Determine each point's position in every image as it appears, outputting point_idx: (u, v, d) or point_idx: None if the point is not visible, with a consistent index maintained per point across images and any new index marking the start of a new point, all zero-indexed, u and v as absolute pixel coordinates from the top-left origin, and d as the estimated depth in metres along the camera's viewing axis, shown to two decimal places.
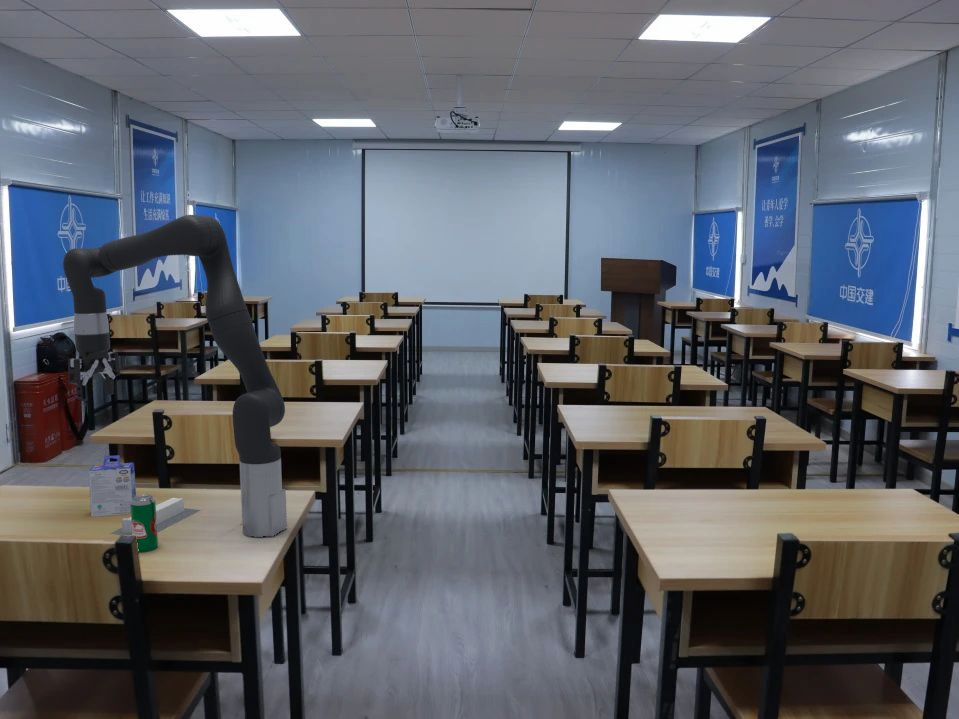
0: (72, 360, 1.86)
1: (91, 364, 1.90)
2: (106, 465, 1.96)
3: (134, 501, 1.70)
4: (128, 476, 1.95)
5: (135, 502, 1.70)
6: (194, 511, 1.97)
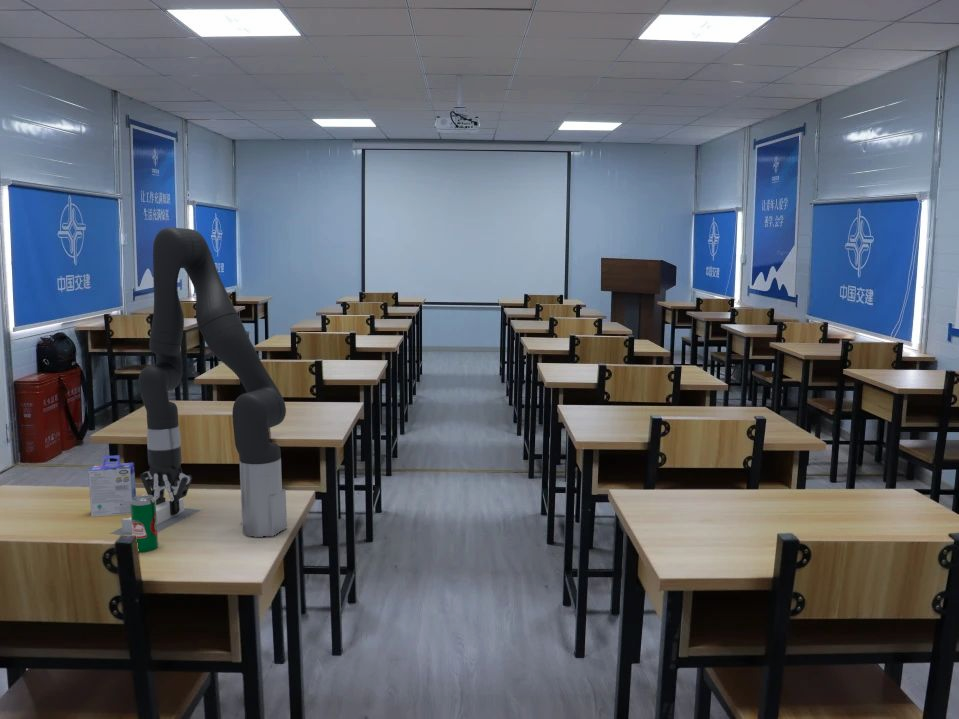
0: (189, 478, 1.91)
1: None
2: (106, 465, 1.96)
3: (134, 501, 1.70)
4: (128, 476, 1.95)
5: (135, 502, 1.70)
6: (194, 511, 1.97)
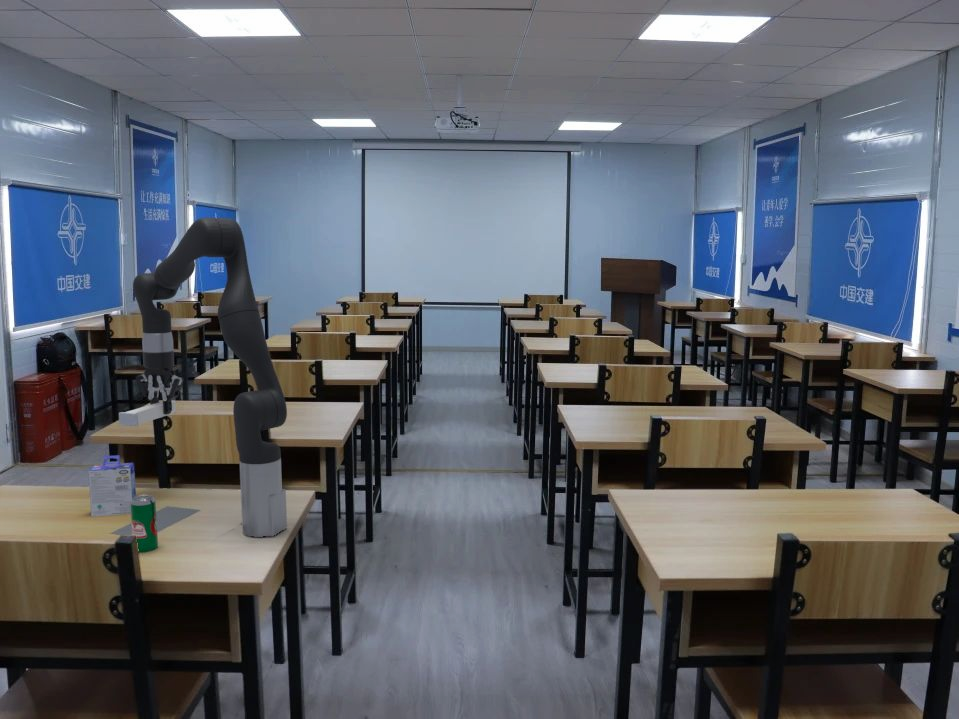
0: (181, 380, 2.08)
1: None
2: (106, 465, 1.96)
3: (134, 501, 1.70)
4: (128, 476, 1.95)
5: (135, 502, 1.70)
6: (194, 511, 1.97)
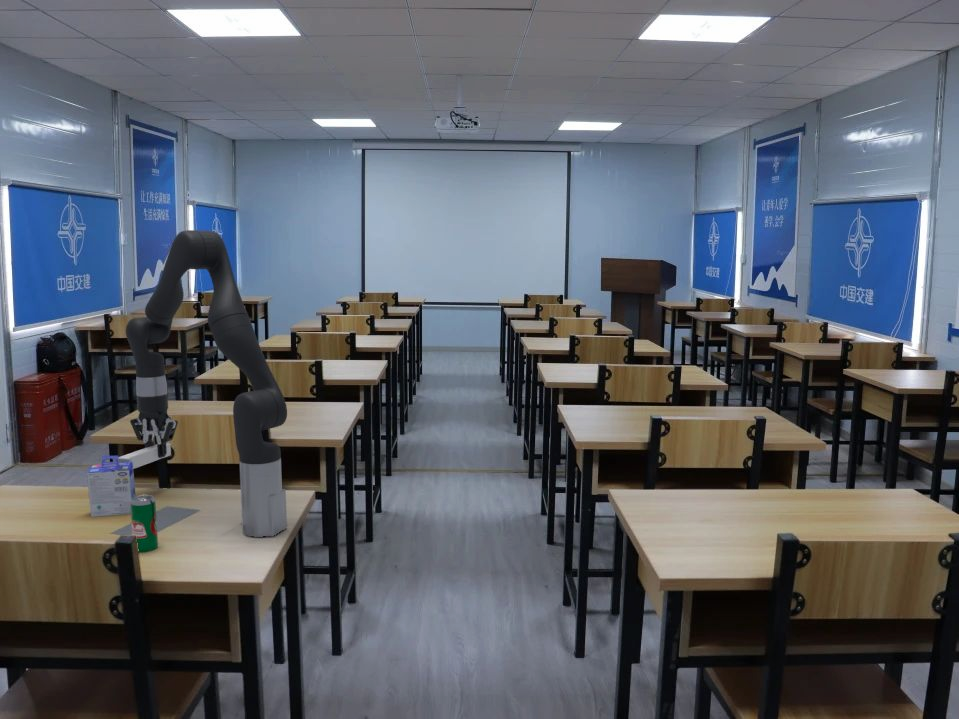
0: (175, 423, 2.08)
1: None
2: (104, 466, 1.94)
3: (134, 501, 1.70)
4: (127, 478, 1.94)
5: (135, 502, 1.70)
6: (194, 511, 1.97)
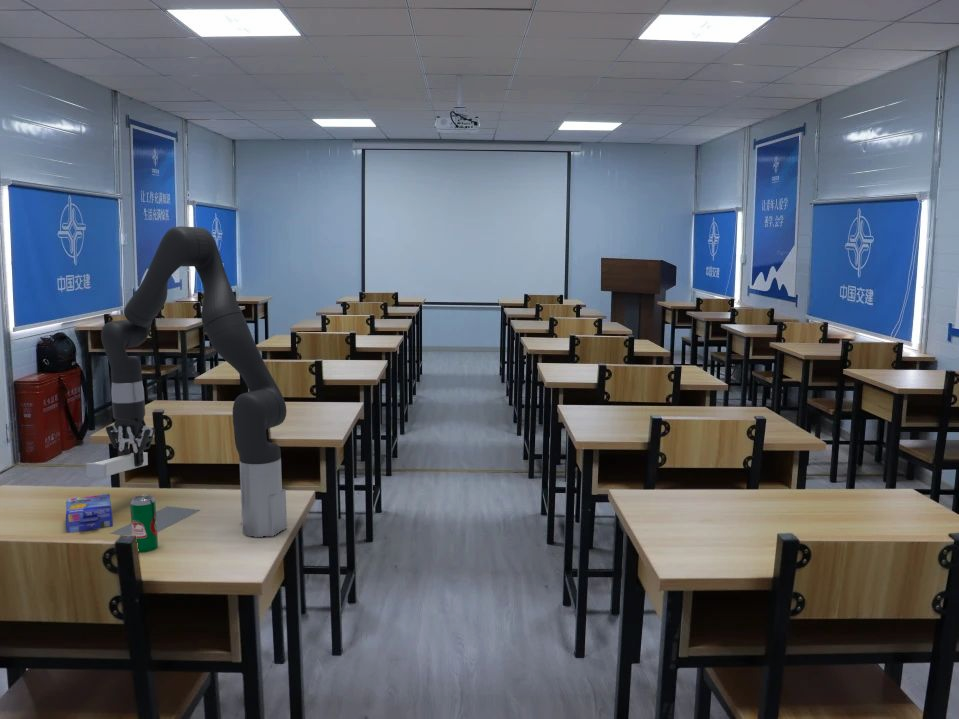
0: (151, 431, 2.00)
1: None
2: (83, 521, 1.84)
3: (134, 501, 1.70)
4: None
5: (135, 502, 1.70)
6: (194, 511, 1.97)
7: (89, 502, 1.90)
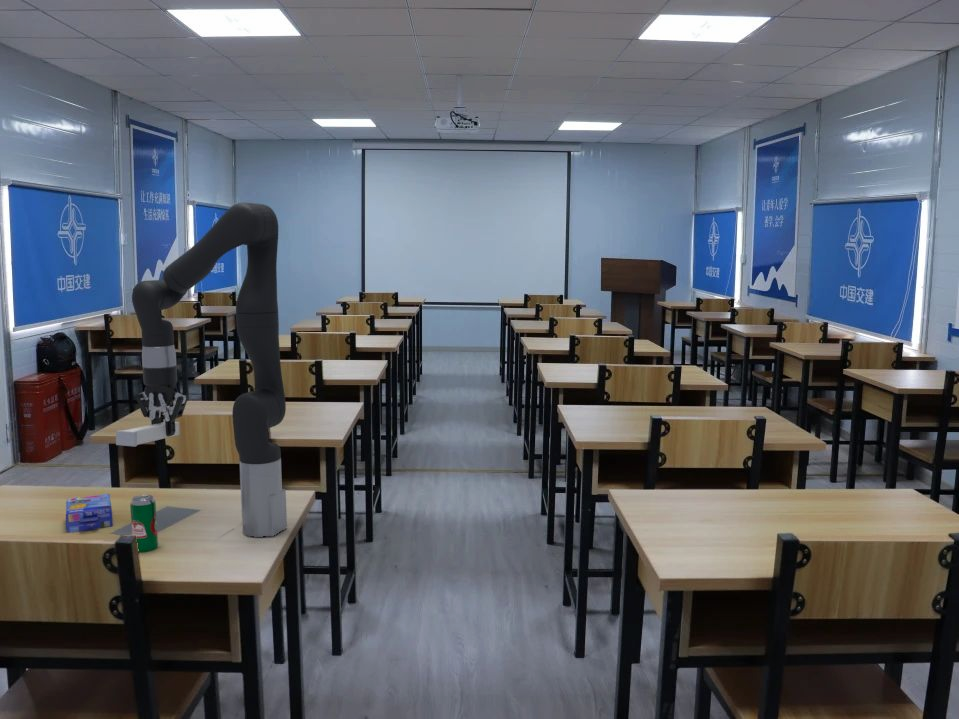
0: (184, 398, 1.88)
1: None
2: (83, 521, 1.84)
3: (134, 501, 1.70)
4: None
5: (136, 502, 1.70)
6: (194, 511, 1.97)
7: (89, 502, 1.90)
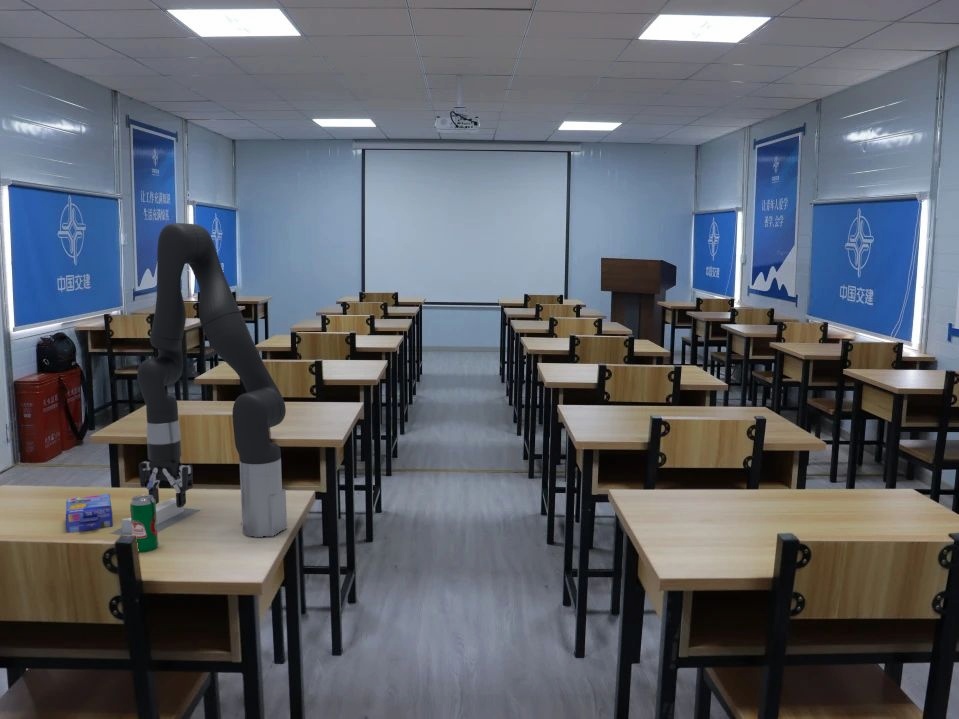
0: (189, 467, 1.91)
1: None
2: (83, 521, 1.84)
3: (134, 501, 1.70)
4: None
5: (135, 502, 1.70)
6: (194, 511, 1.97)
7: (89, 502, 1.90)
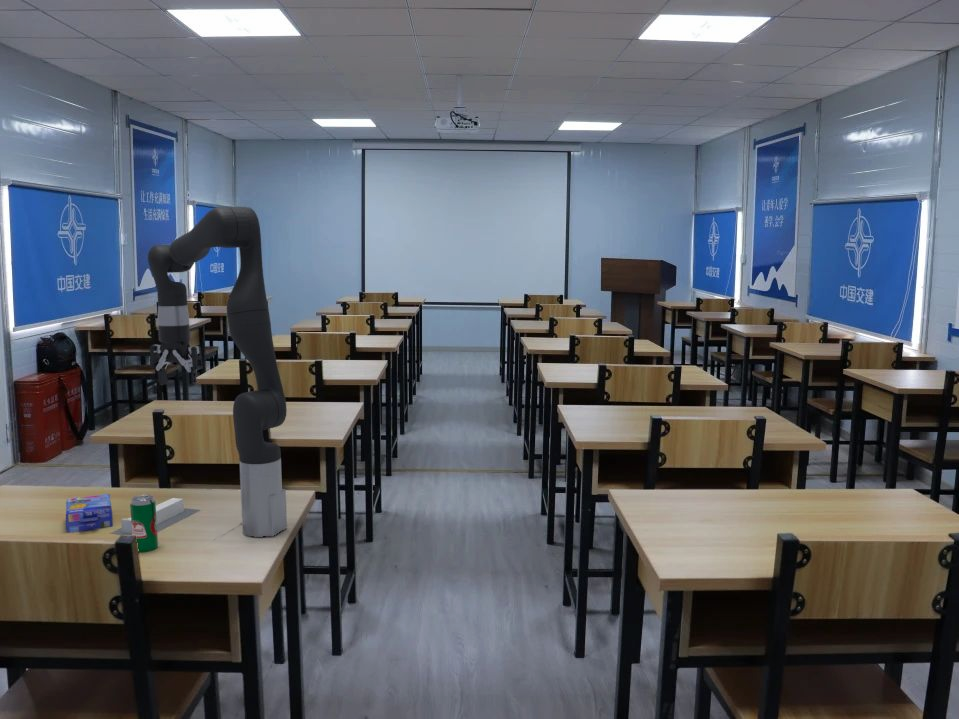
0: (197, 347, 2.03)
1: None
2: (83, 521, 1.84)
3: (134, 501, 1.70)
4: None
5: (135, 502, 1.70)
6: (194, 511, 1.97)
7: (89, 502, 1.90)
